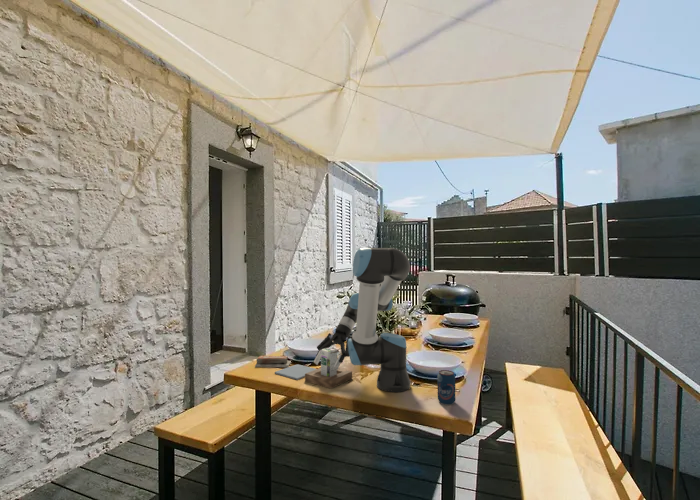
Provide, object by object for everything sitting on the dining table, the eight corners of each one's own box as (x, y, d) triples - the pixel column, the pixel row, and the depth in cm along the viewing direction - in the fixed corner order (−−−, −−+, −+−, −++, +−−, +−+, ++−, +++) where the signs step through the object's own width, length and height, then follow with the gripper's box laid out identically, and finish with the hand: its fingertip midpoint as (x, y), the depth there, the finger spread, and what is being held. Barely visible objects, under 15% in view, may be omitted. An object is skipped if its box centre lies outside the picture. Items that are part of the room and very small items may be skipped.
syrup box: (320, 379, 166) (320, 349, 167) (329, 376, 171) (329, 347, 171) (328, 382, 162) (328, 351, 163) (337, 379, 167) (337, 349, 167)
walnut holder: (352, 378, 168) (352, 371, 168) (331, 388, 155) (331, 380, 155) (326, 372, 178) (326, 365, 178) (305, 381, 165) (305, 373, 165)
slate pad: (319, 371, 179) (319, 369, 179) (297, 380, 166) (297, 378, 166) (297, 365, 189) (297, 364, 189) (274, 373, 176) (274, 371, 176)
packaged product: (254, 358, 186) (260, 353, 196) (254, 368, 186) (260, 362, 196) (288, 359, 186) (291, 354, 196) (288, 368, 186) (291, 362, 196)
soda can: (438, 405, 138) (438, 374, 138) (436, 398, 145) (436, 369, 145) (456, 406, 137) (456, 375, 137) (454, 399, 143) (453, 369, 144)
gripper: (367, 335, 172) (349, 374, 160) (329, 329, 187) (310, 365, 174) (361, 326, 168) (342, 366, 155) (323, 320, 182) (302, 357, 170)
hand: (325, 365), depth 165 cm, fingers open, 12 cm apart
